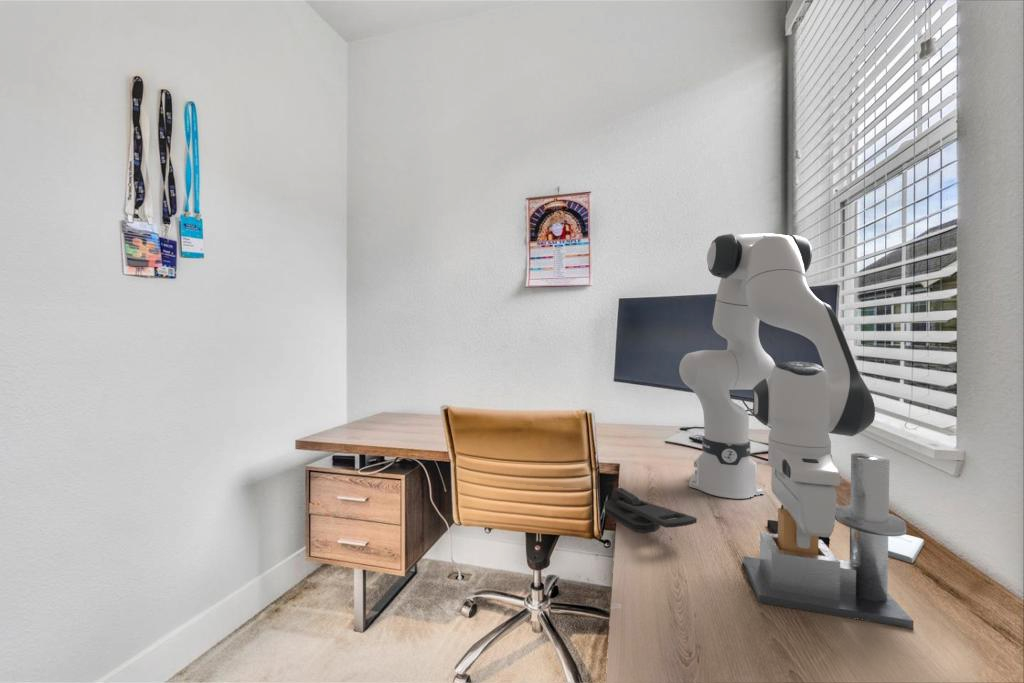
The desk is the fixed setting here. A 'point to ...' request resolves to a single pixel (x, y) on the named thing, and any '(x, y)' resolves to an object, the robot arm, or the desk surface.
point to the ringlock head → (837, 581)
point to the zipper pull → (642, 513)
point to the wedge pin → (792, 535)
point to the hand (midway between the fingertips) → (797, 539)
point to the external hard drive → (904, 547)
